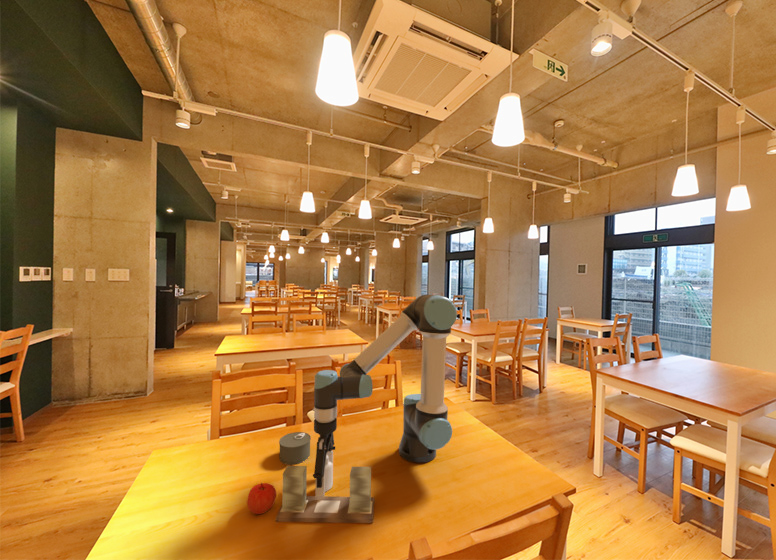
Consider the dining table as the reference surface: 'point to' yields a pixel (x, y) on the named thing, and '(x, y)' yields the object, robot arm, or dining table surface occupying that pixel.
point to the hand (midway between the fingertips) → (324, 481)
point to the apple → (261, 498)
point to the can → (294, 448)
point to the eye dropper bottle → (328, 474)
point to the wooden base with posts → (326, 499)
